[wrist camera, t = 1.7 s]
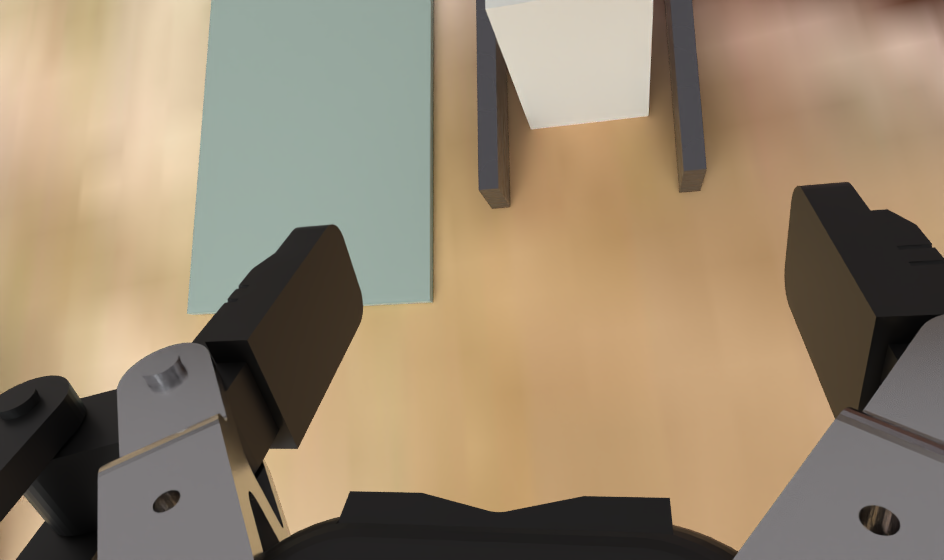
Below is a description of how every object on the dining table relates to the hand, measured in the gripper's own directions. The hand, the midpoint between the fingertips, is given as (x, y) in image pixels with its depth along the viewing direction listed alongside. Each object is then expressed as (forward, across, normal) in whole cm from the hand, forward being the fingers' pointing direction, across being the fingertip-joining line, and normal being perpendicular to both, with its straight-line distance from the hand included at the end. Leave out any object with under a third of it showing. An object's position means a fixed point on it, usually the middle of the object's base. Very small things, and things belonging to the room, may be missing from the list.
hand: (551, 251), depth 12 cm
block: (+19, 0, +2) cm, 19 cm away
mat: (+19, +13, +2) cm, 23 cm away
